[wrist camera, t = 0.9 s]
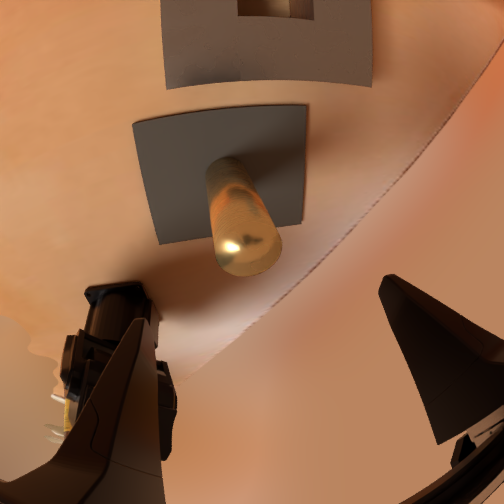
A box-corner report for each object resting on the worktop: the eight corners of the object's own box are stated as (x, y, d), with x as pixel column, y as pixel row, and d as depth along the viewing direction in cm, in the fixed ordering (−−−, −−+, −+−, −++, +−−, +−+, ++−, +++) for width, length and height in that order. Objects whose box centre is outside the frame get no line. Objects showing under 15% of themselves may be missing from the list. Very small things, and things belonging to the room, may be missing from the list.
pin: (207, 197, 20) (219, 281, 13) (203, 160, 18) (211, 227, 11) (247, 192, 20) (281, 270, 13) (245, 155, 18) (282, 217, 11)
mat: (159, 241, 22) (159, 244, 21) (133, 123, 15) (132, 124, 15) (299, 221, 23) (301, 223, 23) (304, 105, 17) (306, 105, 17)
